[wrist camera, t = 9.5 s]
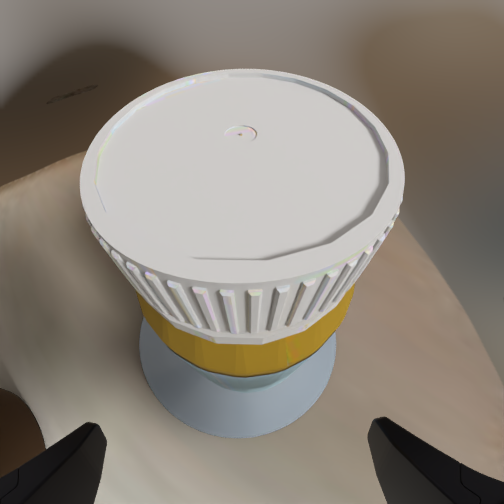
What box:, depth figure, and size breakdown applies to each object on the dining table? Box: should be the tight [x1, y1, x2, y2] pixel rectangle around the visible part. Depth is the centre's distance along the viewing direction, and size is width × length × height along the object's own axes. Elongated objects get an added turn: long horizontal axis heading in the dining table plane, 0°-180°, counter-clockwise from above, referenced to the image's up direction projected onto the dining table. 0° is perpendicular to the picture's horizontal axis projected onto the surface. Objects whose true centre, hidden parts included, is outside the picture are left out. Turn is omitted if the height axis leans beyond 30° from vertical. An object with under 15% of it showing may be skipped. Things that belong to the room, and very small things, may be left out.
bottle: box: [80, 69, 405, 393], centre depth 11 cm, size 7×7×15 cm
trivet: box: [139, 317, 336, 438], centre depth 18 cm, size 13×13×1 cm
